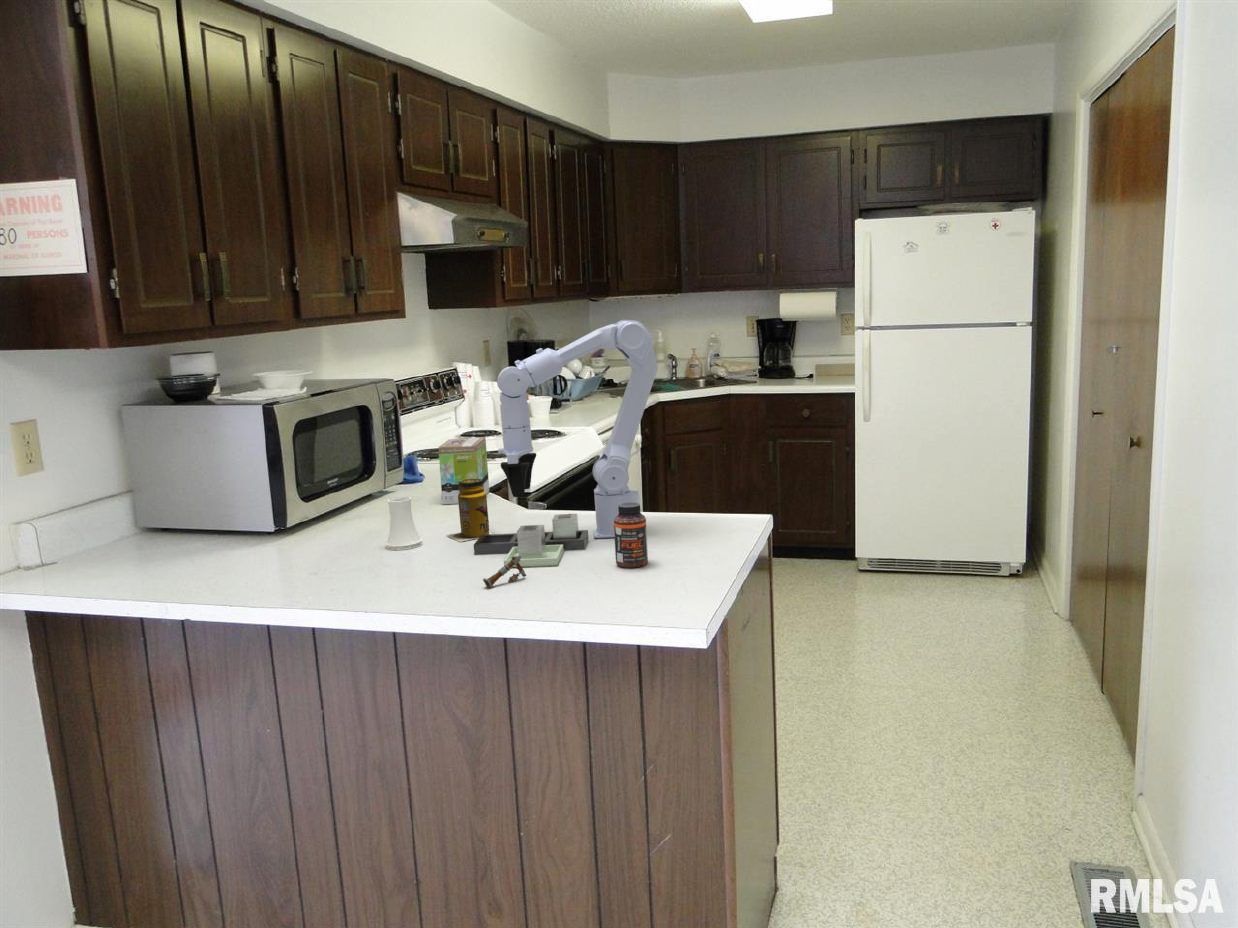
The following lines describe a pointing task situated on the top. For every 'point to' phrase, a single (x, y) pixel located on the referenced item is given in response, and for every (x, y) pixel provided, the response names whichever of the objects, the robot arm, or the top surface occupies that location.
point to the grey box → (531, 541)
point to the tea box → (462, 465)
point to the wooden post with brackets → (504, 570)
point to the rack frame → (507, 541)
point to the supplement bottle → (630, 536)
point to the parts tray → (551, 558)
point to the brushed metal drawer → (565, 526)
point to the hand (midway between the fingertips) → (521, 492)
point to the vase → (402, 525)
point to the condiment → (472, 510)
